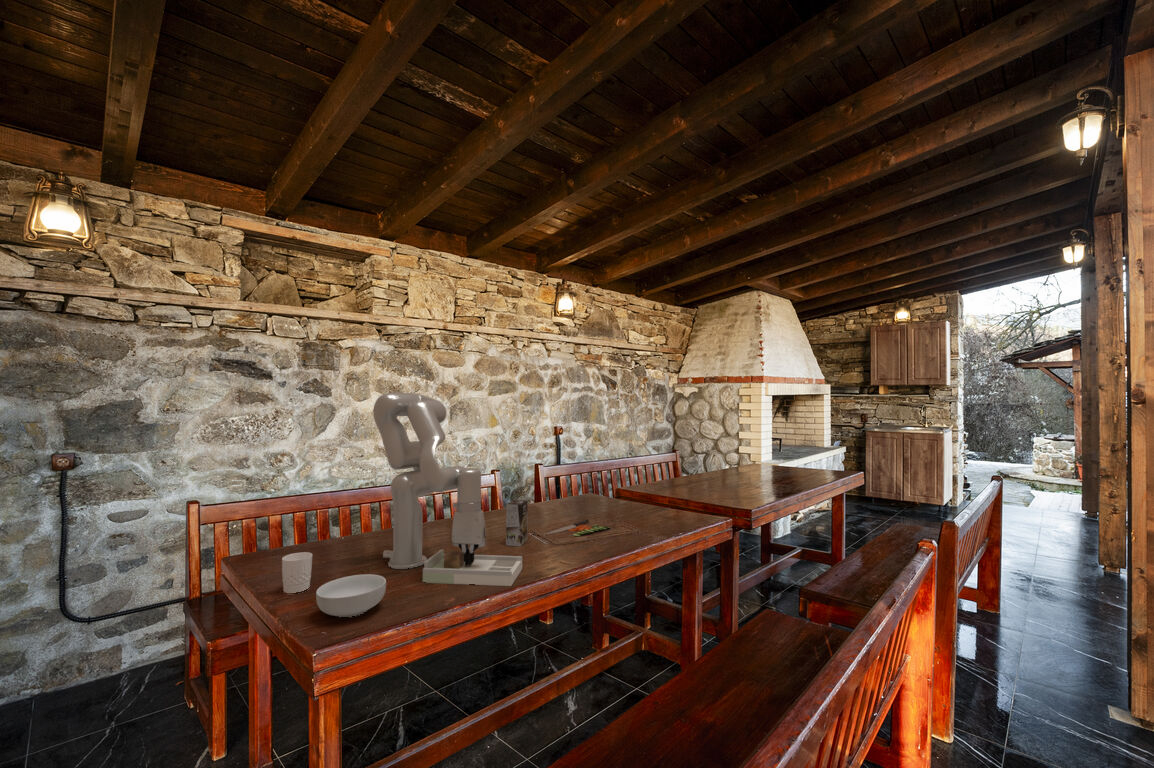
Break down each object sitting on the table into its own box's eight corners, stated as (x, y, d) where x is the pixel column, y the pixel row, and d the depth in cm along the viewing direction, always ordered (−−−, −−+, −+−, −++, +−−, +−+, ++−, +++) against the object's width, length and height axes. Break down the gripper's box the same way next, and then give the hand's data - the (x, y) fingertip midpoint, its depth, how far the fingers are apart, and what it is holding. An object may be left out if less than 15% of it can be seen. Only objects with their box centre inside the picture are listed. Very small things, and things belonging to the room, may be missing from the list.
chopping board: (550, 549, 182) (550, 540, 183) (524, 532, 206) (524, 525, 206) (645, 533, 204) (644, 526, 204) (611, 520, 227) (611, 513, 228)
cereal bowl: (372, 593, 139) (373, 569, 139) (395, 611, 127) (396, 584, 127) (307, 611, 127) (308, 584, 127) (326, 632, 115) (326, 603, 115)
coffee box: (521, 546, 184) (521, 504, 185) (505, 545, 185) (505, 504, 186) (528, 540, 193) (528, 500, 194) (513, 539, 194) (513, 499, 195)
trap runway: (422, 582, 147) (422, 563, 147) (441, 566, 162) (442, 548, 162) (510, 586, 144) (510, 566, 144) (522, 569, 159) (522, 550, 159)
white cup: (289, 597, 136) (290, 562, 137) (275, 592, 140) (276, 557, 141) (317, 588, 143) (317, 554, 143) (303, 583, 147) (303, 550, 147)
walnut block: (443, 568, 151) (443, 555, 151) (449, 562, 156) (449, 550, 156) (458, 568, 151) (459, 555, 151) (464, 563, 156) (464, 550, 156)
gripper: (442, 509, 151) (442, 567, 150) (488, 510, 149) (488, 569, 149) (451, 504, 159) (451, 559, 158) (494, 505, 157) (494, 561, 156)
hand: (469, 564), depth 153 cm, fingers closed
